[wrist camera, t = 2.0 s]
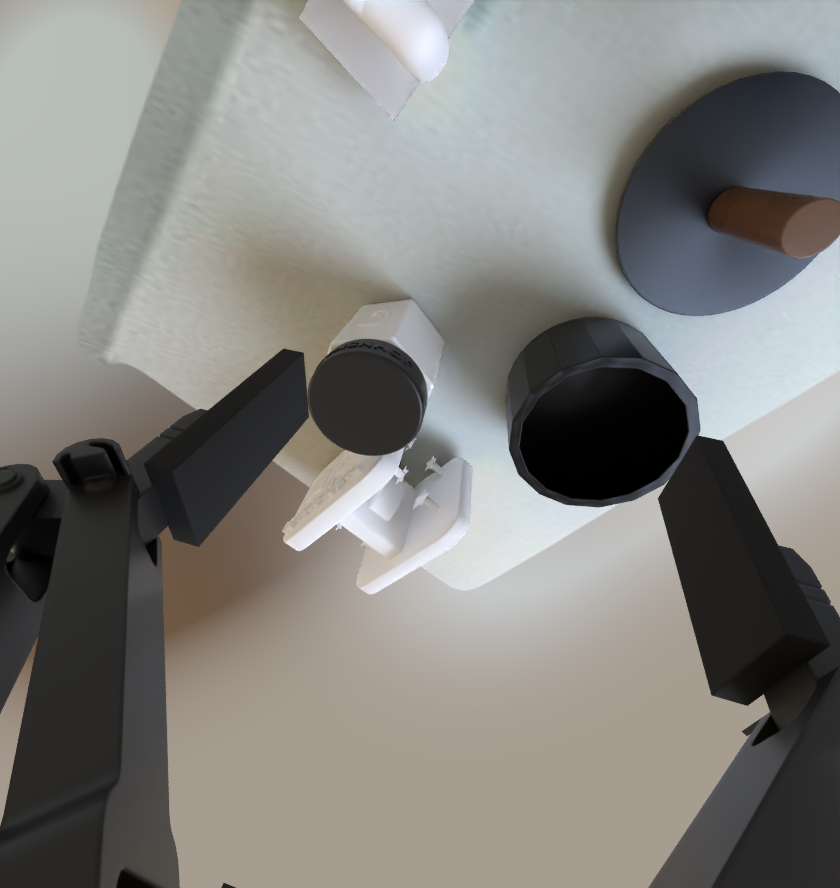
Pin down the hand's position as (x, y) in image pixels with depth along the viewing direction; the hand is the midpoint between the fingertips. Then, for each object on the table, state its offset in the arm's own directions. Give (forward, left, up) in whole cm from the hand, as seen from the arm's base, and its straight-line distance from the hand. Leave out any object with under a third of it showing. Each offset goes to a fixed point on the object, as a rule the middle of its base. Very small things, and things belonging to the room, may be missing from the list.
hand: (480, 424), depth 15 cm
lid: (-10, +13, -23) cm, 29 cm away
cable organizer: (+22, -1, -24) cm, 33 cm away
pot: (+6, +12, -24) cm, 28 cm away
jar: (+9, -5, -24) cm, 26 cm away
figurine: (-11, -12, -24) cm, 29 cm away
